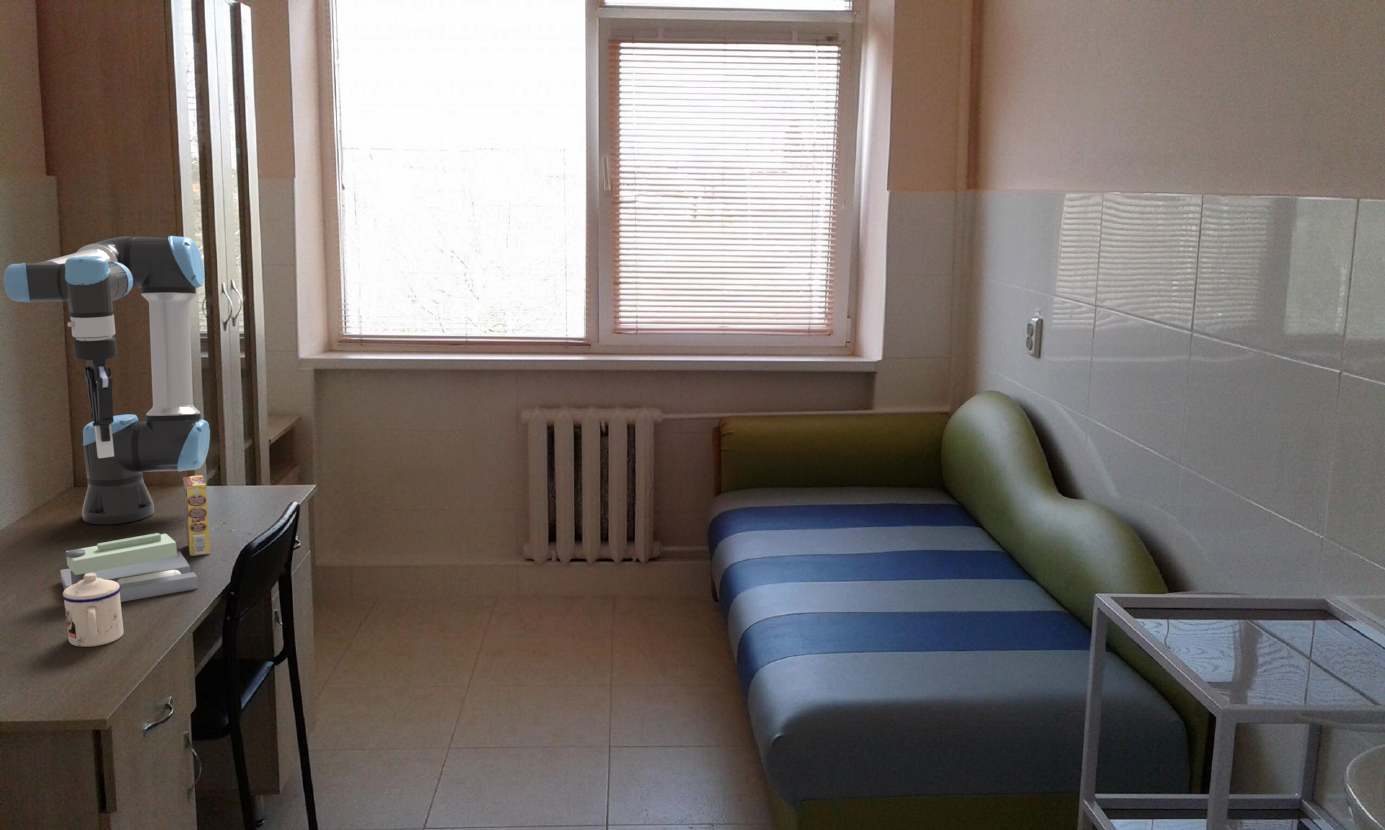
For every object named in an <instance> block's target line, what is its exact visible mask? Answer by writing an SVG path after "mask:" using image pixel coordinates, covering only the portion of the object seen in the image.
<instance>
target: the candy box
mask: <svg viewBox="0 0 1385 830" xmlns="http://www.w3.org/2000/svg"><path fill="white" fill-rule="evenodd" d="M204 478H205V477H204V476H203V475H192V476H191V475H190V476H185V477H184V476H183V477H182V482H183V494H184V495H183V496H184V500H183V501H184V513H185V525H186V526H185V527H186V539H187V541H186V543H187V548H188V551H189V556H190V557H194V556H203V555H206V556H207V555H210V554H211V548H210V547H211V546H210V545H211V544H210V530H209V528H210V526H209V515H208V514H209V511H208V497H207V494H208V493H207V484H206V481H205V479H204Z"/></svg>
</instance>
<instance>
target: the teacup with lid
mask: <svg viewBox="0 0 1385 830" xmlns="http://www.w3.org/2000/svg"><path fill="white" fill-rule="evenodd" d="M63 590H64V589H63ZM120 590H121V587H120V585H119V584H118V583H117V582H115V581H112V580H105V579H102V578H97V576H96V574H95V573H88V574H85V575H84V579H83V580H81V581H79V582H78V583H76V584H74V585H71V586H69V587H68V588H66V589H65V590H64V591H63V592H62V595H61V597H62V599H63V601H64V603H63V604H64V610H65V620H66V628H67V629H66V630H67V637H68V642H69V643H70V645H73V646H75V647H81V648H85V647H88V648H90V647H98V646H103V645H104V646H105V645H107V644H110V643H112V642H115V641H117V640H118V639H120V638H121V637H122V636H123V635H124V625H123V624H124V623H123V622H124V621H123V615H122V614H123V613H122V602H120Z"/></svg>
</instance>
